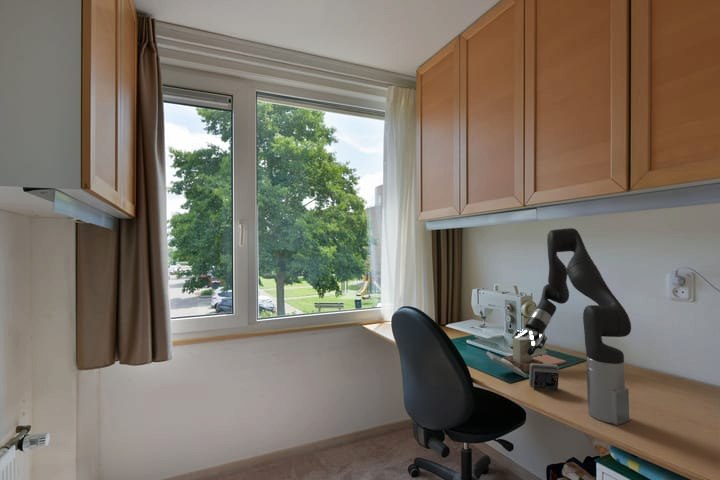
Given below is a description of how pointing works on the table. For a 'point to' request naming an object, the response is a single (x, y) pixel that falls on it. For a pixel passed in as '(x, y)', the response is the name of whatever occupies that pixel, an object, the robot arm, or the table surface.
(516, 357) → the skincare box
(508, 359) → the frame
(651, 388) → the table surface
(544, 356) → the terracotta mat
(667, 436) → the table surface
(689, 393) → the table surface
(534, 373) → the electrical switch
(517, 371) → the light switch
